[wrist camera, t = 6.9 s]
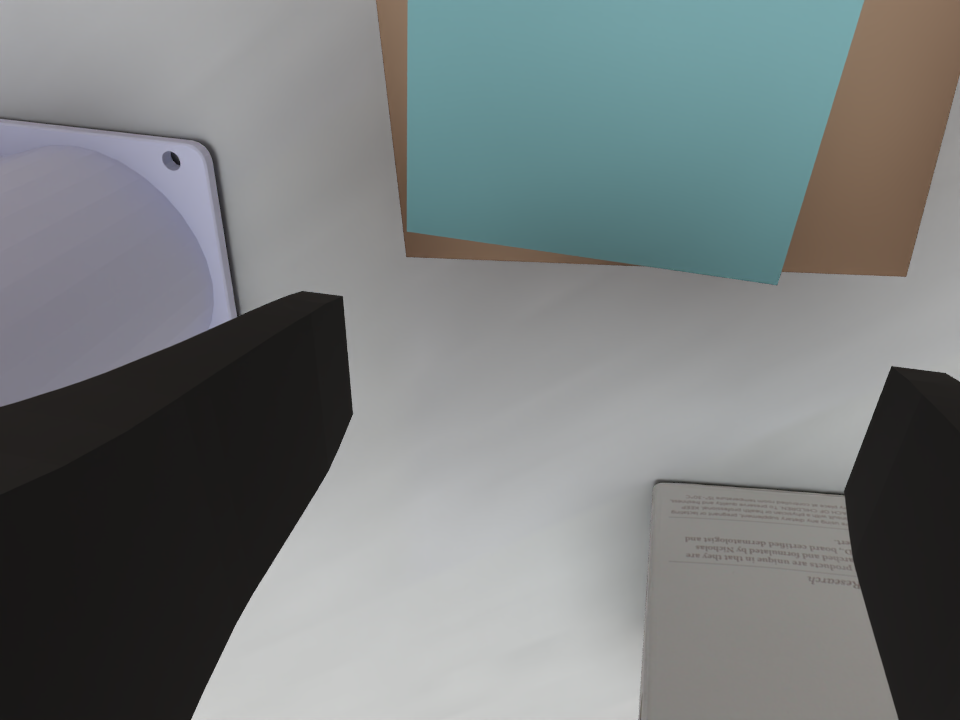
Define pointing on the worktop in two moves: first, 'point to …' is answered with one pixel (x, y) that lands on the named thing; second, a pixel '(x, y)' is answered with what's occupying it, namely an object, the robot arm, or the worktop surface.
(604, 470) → the worktop surface
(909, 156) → the walnut block
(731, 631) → the supplement box
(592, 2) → the teal cube
